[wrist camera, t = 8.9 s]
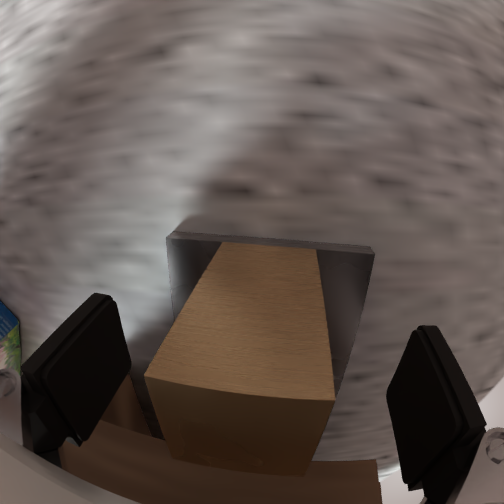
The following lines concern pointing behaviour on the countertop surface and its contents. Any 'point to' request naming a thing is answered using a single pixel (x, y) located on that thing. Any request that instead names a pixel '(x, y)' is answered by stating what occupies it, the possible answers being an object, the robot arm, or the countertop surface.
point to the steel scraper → (255, 348)
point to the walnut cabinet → (201, 469)
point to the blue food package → (9, 340)
